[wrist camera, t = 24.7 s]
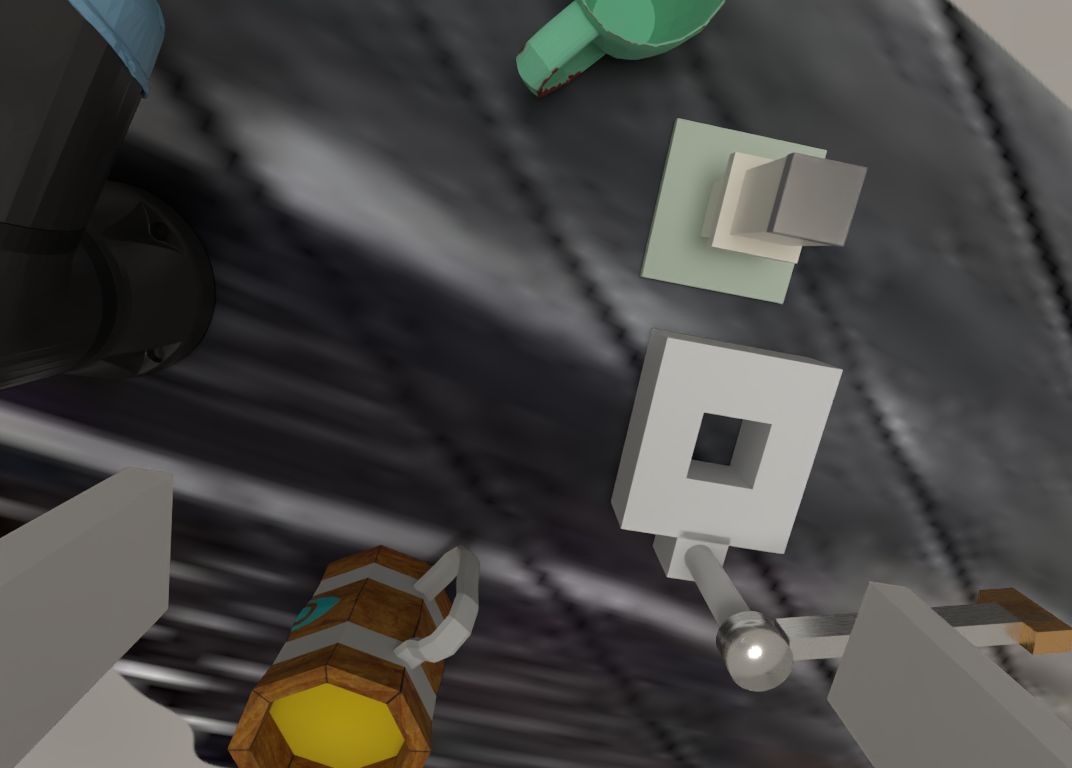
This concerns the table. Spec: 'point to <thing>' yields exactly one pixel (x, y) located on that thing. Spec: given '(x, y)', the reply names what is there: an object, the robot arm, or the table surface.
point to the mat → (683, 207)
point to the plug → (781, 205)
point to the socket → (713, 489)
